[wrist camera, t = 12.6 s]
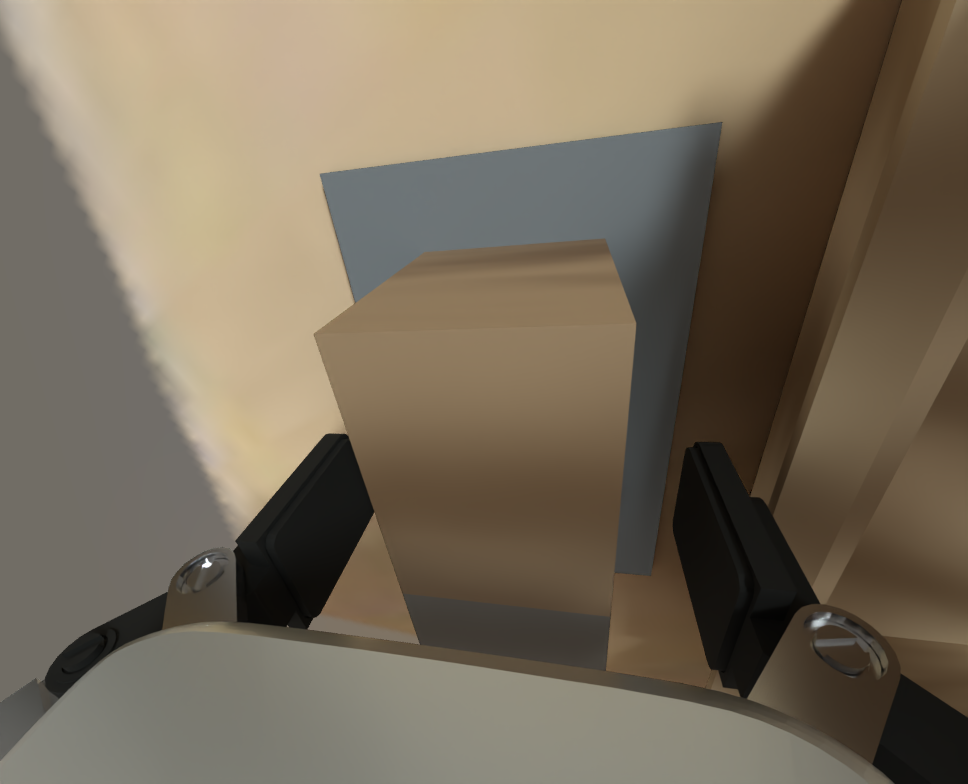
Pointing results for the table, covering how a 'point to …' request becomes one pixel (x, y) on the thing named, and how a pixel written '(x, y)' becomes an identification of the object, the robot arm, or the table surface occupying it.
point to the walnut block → (494, 441)
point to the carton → (890, 371)
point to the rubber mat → (557, 218)
